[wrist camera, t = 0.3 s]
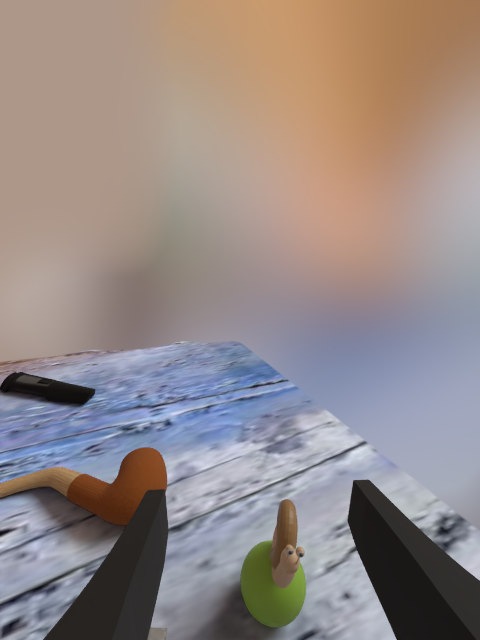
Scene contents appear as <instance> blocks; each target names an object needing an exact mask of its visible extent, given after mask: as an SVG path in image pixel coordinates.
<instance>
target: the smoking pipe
mask: <svg viewBox="0 0 480 640" xmlns="http://www.w3.org/2000/svg"><path fill="white" fill-rule="evenodd" d="M37 487H52V488H54V489H56V490H57V491H59V492H60V493H62V494H63V495H65V496H66V497H67V498H68V500H69V501H71V502H73V503H75V504H76V505H78V506H80V507H82V508H84V509H86V510H88V511H90V512H92V513H94V514H96V515H98V516H99V517H101V518H102V519H104V520H106V521H108V522H110V523H112V524H116V525H127V524H128V523H129V521H130V519H131V518H132V516H133V514H134V513H135V511H136V509H137V507H138V506H139V504H140V502H141V500H142V498H143V496H144V495H145V493H146V492H147V491H148V490H158V489H165V492H166V488H167V473H166V467H165V463H164V460H163V457H162V455H161V454H160V453H159V452H158V451H157V450H155V449H153V448H139V449H136V450H134V451H132V452H130V453H129V454H128V455H127V456H126V457H125V458H124V459H123V461H122V463H121V466H120V470H119V473H118V476H117V478H116V479H115V480H114V482H113V483H112V484H108V483H106V482H104V481H101V480H99V479H97V478H94V477H92V476H90V475H87V474H81V473H78V472H76V471H73V470H70V469H67V468H63V467H54V468H49V469H45V470H42V471H38V472H35V473H32V474H28V475H25V476H22V477H18V478H15V479H12V480H9V481H6V482H3V483H0V498H2V497H5V496H8V495H11V494H13V493H17V492H20V491H23V490H27V489H32V488H37Z"/></svg>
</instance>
